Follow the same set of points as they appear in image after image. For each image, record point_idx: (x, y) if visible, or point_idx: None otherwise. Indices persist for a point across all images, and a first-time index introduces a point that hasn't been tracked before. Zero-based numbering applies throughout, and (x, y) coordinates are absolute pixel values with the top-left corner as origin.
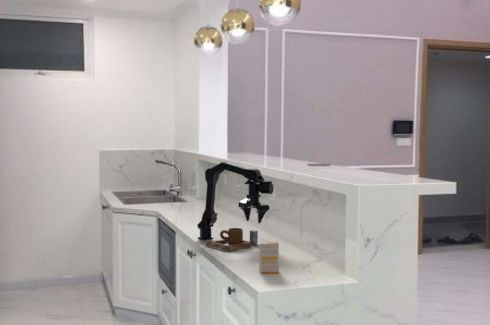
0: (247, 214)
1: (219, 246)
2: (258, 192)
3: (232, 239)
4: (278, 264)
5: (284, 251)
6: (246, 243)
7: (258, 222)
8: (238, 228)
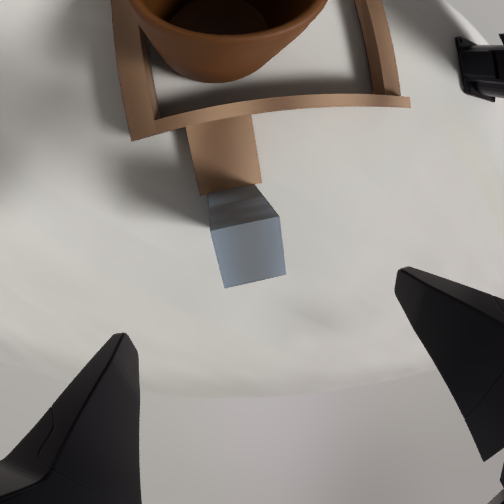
0: (466, 340)
1: None
2: None
3: None
4: None
5: (10, 276)
6: (121, 83)
7: (115, 339)
8: (280, 27)
